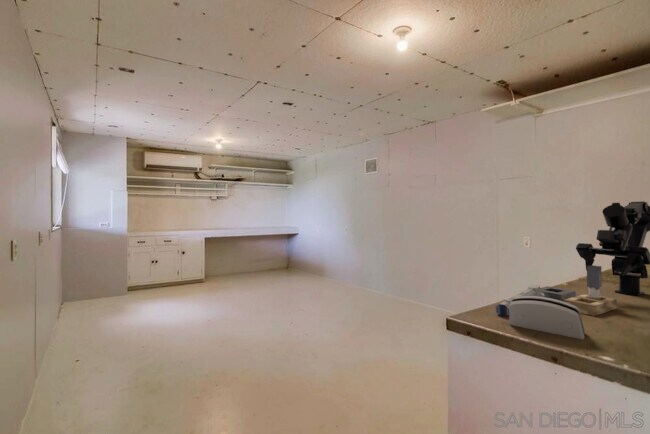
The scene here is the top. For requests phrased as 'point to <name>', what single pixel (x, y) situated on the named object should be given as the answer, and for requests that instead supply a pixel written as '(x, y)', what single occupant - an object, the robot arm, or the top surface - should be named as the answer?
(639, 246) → the robot arm
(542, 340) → the top surface
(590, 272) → the tall grey square pillar
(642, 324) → the top surface
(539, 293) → the white bulb-headed handheld tool
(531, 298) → the grey arched slab
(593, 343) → the top surface
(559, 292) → the socket
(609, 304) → the rack
